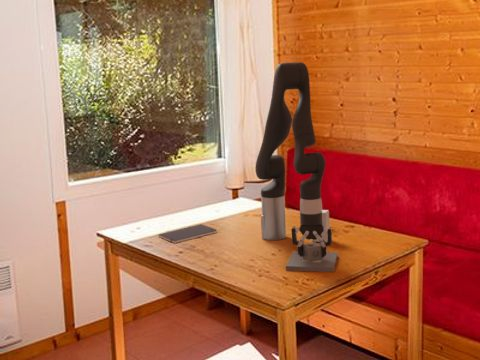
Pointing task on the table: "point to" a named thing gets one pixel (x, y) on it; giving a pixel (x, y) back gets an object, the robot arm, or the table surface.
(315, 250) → the dice cube
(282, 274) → the table surface
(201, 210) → the table surface
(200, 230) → the notebook
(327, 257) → the plate
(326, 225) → the skincare box
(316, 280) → the table surface
